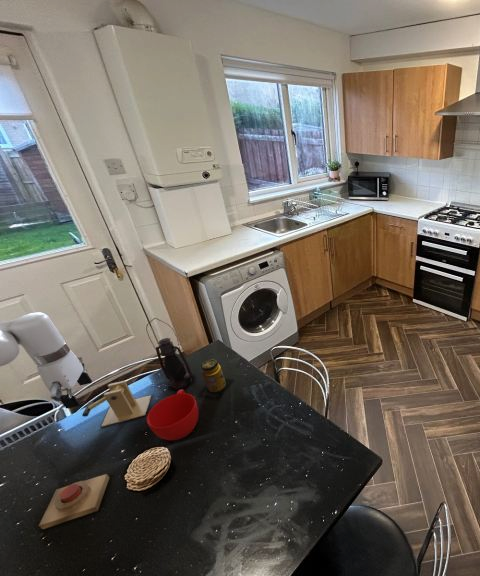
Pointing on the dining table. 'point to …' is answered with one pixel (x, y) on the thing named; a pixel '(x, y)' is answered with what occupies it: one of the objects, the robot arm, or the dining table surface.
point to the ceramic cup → (174, 416)
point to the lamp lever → (98, 402)
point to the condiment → (213, 375)
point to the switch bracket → (124, 404)
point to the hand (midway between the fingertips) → (80, 394)
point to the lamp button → (70, 493)
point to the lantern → (173, 363)
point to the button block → (75, 502)
